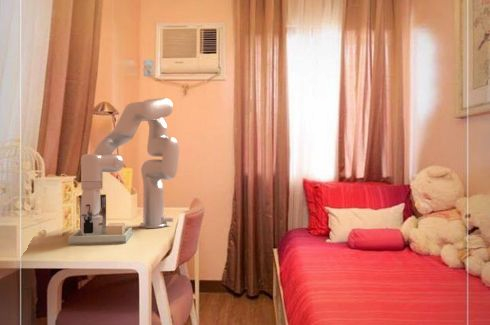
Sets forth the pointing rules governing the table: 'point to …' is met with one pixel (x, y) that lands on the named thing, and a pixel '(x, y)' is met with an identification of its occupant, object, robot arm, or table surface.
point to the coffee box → (102, 210)
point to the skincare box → (96, 226)
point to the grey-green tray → (99, 238)
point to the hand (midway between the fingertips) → (91, 230)
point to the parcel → (115, 229)
